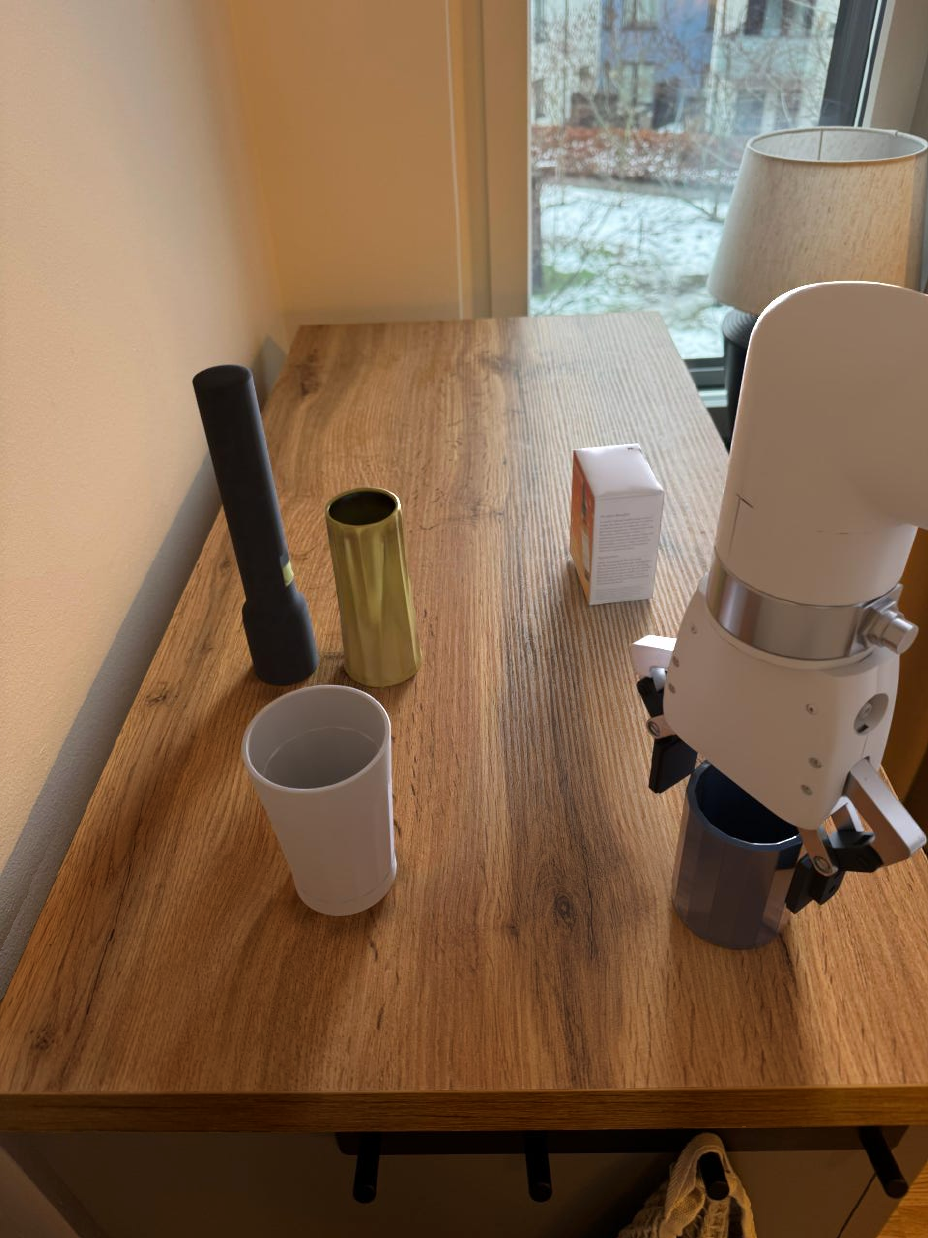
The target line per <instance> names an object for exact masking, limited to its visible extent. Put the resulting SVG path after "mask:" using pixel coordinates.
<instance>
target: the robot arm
mask: <svg viewBox="0 0 928 1238" xmlns="http://www.w3.org/2000/svg"><path fill="white" fill-rule="evenodd" d="M734 419H735V420H734V426H733V431H732V437H731V442H730V443H731V444H730V449H729V454H728V459H727V460H728V462H727V465H726V472H725V478H724V483H723V484H724V485H723V490H722V496H721V503H720V508H719V513H718V517H717V524H716V530H715V531H716V532H715V537H714V541H713V548H712V553H711V559H710V565H709V570H708V571H706V572H705V574H704V575H703V576H701V578H700V580H699V581H698V583H697V585H696V587H695V589H694V591H693V593H692V595H691V598H690V599H689V602H688V604H687V606H686V609H685V611H684V613H683V615H682V619H681V621H680V624H679V627H678V630H677V632H676V636H675V638H672V637H671V638H669V637H663V636H657V635H650V634H648V635H645V636H643V637H642V638H639V639H638V640H636V641H634V642H632V643H631V644H630V645H629V653H630V657H631V660H632V663H633V669H634V671H635V674H636V676H638V678H639V680H638V681H637V682H636V689H637V692H638V694H639V697H640V698H641V700H642V702H643V704H644V706H645V709H646V711H647V713H648V715H649V717H650V718H648V719H647V720H646V721H645V726H646V730H647V732H648V733H649V735H650V736H651V737H653V738H654V741H653V747H652V751H651V759H650V763H651V764H650V771H649V778H648V785H647V787H648V789H649V790H650V791H651V792H653V793H654V794H659V795H661V794H663V793H665V792H666V791H667V790H669V789H671V788H672V787H674V786H675V785H677V784H678V783H680V782H681V781H682V780H685V779H686V778H687V777H690V776H691V773H692V771H693V770H694V769H696V765H697V760H698V754H699V755H700V756H701V757H702V758H704V760H705V759H706V760H707V761H709V762H710V763H711V764H712V765H714V766H715V767H716V768H717V769H719V770H720V771H721V772H722V773H723V774H725V775H726V776H727V777H728V778H730V779H731V780H732V781H734V782H735V783H736V784H737V785H739V786H740V787H741V788H742V789H744V790H745V791H746V792H747V793H749V794H750V795H751V796H753V797H754V798H755V799H756V800H758V801H759V802H760V803H762V804H763V805H764V806H765V807H767V808H768V809H769V810H771V811H772V812H773V813H775V814H776V815H777V816H779V817H780V818H782V819H783V820H785V821H787V822H788V823H790V824H792V825H795V826H797V828H798V831H799V833H800V836H801V838H802V840H803V843H804V845H805V848H806V850H807V852H808V853H806V854H805V855H804V856H802V857H801V858H800V859H799V860H798V862H797V864H796V867H795V870H794V873H793V876H792V879H791V882H790V885H789V889H788V892H787V895H786V898H785V901H784V903H786V908H787V909H788V910H790V911H791V913H792V914H793V915H796V914H798V913H799V912H800V911H802V910H803V909H804V908H805V907H807V906H808V905H809V904H810V903H811V902H813V901H814V902H815V903H817V904H818V905H819V906H823V905H825V904H826V903H827V902H828V901H830V900H831V899H832V898H833V897H834V895H836V894H837V892H838V891H839V889H840V887H841V886H842V883H843V880H844V877H845V875H846V873H847V872H850V873H851V872H852V873H863V874H864V873H865V874H871V873H872V874H874V873H875V872H876V871H877V870H878V869H881V868H883V867H889V866H892V865H895V864H898V863H900V862H903V861H906V860H908V859H910V858H911V857H912V856H914V855H915V854H916V853H917V852H918V851H919V850H920V849H922V848H923V847H924V846H926V844H927V842H928V838H927V835H926V834H925V832H924V831H923V830H922V828H921V827H920V826H919V824H918V823H917V822H916V820H914V818H913V817H912V815H911V814H910V813H909V811H908V810H907V809H906V808H905V806H904V805H903V804H902V802H901V801H900V800H899V799H898V797H897V796H896V795H895V794H894V792H893V791H892V789H891V788H890V787H889V786H888V784H887V783H886V782H885V781H884V779H883V778H882V776H880V774H879V770H880V767H881V764H882V761H883V758H884V754H885V750H886V746H887V743H888V739H889V735H890V731H891V727H892V721H893V717H894V712H895V707H896V700H897V695H898V687H899V677H900V676H899V675H900V656H901V655H902V654H904V653H906V651H907V650H909V648H911V646H912V645H913V643H914V642H915V640H916V638H917V636H918V634H919V629H920V628H919V626H918V625H916V624H915V623H913V622H911V621H909V620H908V619H906V618H905V615H904V613H903V612H900V611H899V605H898V604H899V600H900V597H901V594H902V592H903V589H904V584H902V583H901V582H900V581H901V579H902V577H903V573H904V571H905V568H906V565H907V562H908V559H909V556H910V553H911V550H912V547H913V544H914V541H915V538H916V536H917V532H918V530H919V528H920V529H923V530H925V531H928V294H926V293H923V292H920V291H918V290H914V289H910V288H907V287H903V286H899V285H894V284H888V283H883V282H882V283H880V282H873V281H860V280H855V281H854V280H843V281H827V282H820V283H813V284H809V285H804V286H800V287H797V288H795V289H792V290H790V291H788V292H786V293H784V294H782V295H780V296H779V297H777V298H776V299H775V300H773V301H772V302H771V303H770V304H769V305H768V306H767V307H766V308H765V309H764V310H763V312H762V313H761V314H760V315H759V317H758V319H757V321H756V322H755V325H754V327H753V329H752V332H751V334H750V339H749V343H748V347H747V352H746V357H745V362H744V368H743V374H742V379H741V386H740V391H739V397H738V403H737V408H736V415H735V418H734ZM858 813H859V814H858ZM859 815H860V816H861V817H862V818H863V819H864V822H865V823H866V824H867V825H868V826H869V828H870V829H871V830H872V831H866V830H865V828H864V825H863V823H862V821H861V819H860V818H861V817H860V816H859ZM830 817H831V819H832V822H833V824H834V828H835V830H834V831H832V832H831V833H830V834H828V832H827V830H826V828H825V824H824V822H825V821H826V820H827V819H829V818H830Z"/></svg>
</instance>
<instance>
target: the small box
mask: <svg viewBox="0 0 928 1238" xmlns="http://www.w3.org/2000/svg"><path fill="white" fill-rule="evenodd" d="M571 474H572V476H571V477H572V478H571V496H570V497H571V501H570V520H569V521H570V524H569V525H570V527H569V551H568V552H569V554H570V556H571V560H572V561H573V563H574V566H575V569H576V572H577V575H578V577H579V581H580V584H581V587H582V590H583V592H584V595H585V598H586V601H587V604H588V605H589V606H597V605H604V604H614V603H623V602H632V601H633V602H634V601H643V600H651V599H653V597H654V592H655V591H654V590H655V582H656V572H657V564H658V556H659V549H660V548H659V547H660V538H661V530H662V521H663V513H664V506H665V505H664V504H665V503H664V502H665V496H666V495H665V494H666V492H665V491H664V489H663V487H662V486H661V484H660V482H659V481H658V479H657V478H656V476H655V474H654V472H653V470H652V468H651V466H650V465H649V462H648V461H647V459H646V457H645V454H644V453H643V451H642V448H641V445H640V444H639V443H627V444H617V445H616V444H615V445H607V446H605V445H604V446H596V447H585V448H576V449H573V451H572V473H571Z"/></svg>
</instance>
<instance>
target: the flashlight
mask: <svg viewBox="0 0 928 1238" xmlns="http://www.w3.org/2000/svg"><path fill="white" fill-rule="evenodd" d="M253 376H254V375H253V372H252V371H251V369H250V368H248V367H246V366H243V365H239V364H232V363H231V364H219V365H214V366H210V367H207V368H205V369H202V370H201V371H199V372H197V373H196V374H195V375H194V376H193V378H192V381H191V382H192V383H191V384H192V387H193V392H194V396H195V400H196V403H197V407H198V411H199V416H200V419H201V424H202V427H203V430H204V431H203V432H204V435H205V436H204V437H205V439H206V444H207V447H208V452H209V455H210V460H211V465H212V467H213V471H214V476H215V480H216V484H217V488H218V492H219V497H220V500H221V503H222V509H223V512H224V516H225V521H226V525H227V528H228V532H229V536H230V540H231V544H232V549H233V552H234V556H235V561H236V564H237V568H238V572H239V577H240V581H241V584H242V588H243V592H244V597H245V601H244V603H243V604H242V607H241V619H242V624H243V629H244V633H245V638H246V643H247V647H248V650H249V654H250V657H251V661H252V665H253V669H254V672H255V675H256V677H257V678H258V679H259V680H260V681H261V682H263V683H265V684H267V685H269V686H276V687H284V686H285V687H286V686H291V685H292V686H293V685H296V684H298V683H300V682H303V681H304V680H306V679H308V678H309V677H310V676H312V675H313V674H314V673H315V672H316V669H317V668H318V666H319V664H320V663H319V662H320V658H319V653H318V647H317V642H316V638H315V632H314V627H313V623H312V619H311V614H310V610H309V605H308V602H307V600H306V597H305V596H304V594H303V593H302V592H301V591H300V590H298V589H297V586H296V583H295V578H294V576H295V573H294V571H293V567H292V564H291V559H290V553H289V548H288V544H287V538H286V534H285V530H284V525H283V524H284V523H283V519H282V515H281V509H280V505H279V504H280V503H279V499H278V495H277V490H276V485H275V480H274V475H273V470H272V466H271V461H270V455H269V452H268V446H267V441H266V440H267V439H266V436H265V431H264V426H263V420H262V416H261V412H260V407H259V406H260V405H259V402H258V396H257V392H256V386H255V382H254V377H253Z"/></svg>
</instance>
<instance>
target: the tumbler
mask: <svg viewBox="0 0 928 1238" xmlns="http://www.w3.org/2000/svg"><path fill="white" fill-rule="evenodd" d="M675 850H676V851H675V857H674V862H673V870H672V876H671V889H670V890H671V899H672V903H673V904H672V905H673V906H674V909H675V911H676V913H677V915H678V917H679V918H680V919H681V921H682V923H684V924H685V926H686V927H688V929H689V930H690V931H692V933H694V934H695V935H697V936H698V937H699V938H701V939H702V940H704V941H705V942H708V943H710V944H712V945H714V946H717V947H721V948H724V949H729V950H740V951H741V950H752V949H757V948H760V947H763V946H765V945H767V944H769V943H771V942H773V941H774V940H776V939H777V938H778V937H779V936H780V935H781V933H782V932H783V931H784V929H785V928H786V925H787V924H788V922H789V920H790V917H791V913H792V912H791V911H790V910H788V909H787V908H786V903H784V901H785V898H786V895H787V892H788V889H789V885H790V882H791V879H792V876H793V873H794V870H795V867H796V864H797V862H798V860H799V859H800V858H801V857H802V856H804V855H805V854H806V853H808V852H807V850H806V848H805V845H804V843H803V840H802V838H801V836H800V833H799V831H798V828H797V826H795V825H792V824H790V823H788V822H787V821H785V820H783V819H782V818H780V817H779V816H777V815H776V814H775V813H773V812H772V811H771V810H769V809H768V808H767V807H765V806H764V805H763V804H762V803H760V802H759V801H758V800H756V799H755V798H754V797H753V796H751V795H750V794H749V793H747V792H746V791H745V790H744V789H742V788H741V787H740V786H739V785H737V784H736V783H735V782H734V781H732V780H731V779H730V778H728V777H727V776H726V775H725V774H723V773H722V772H721V771H720V770H719V769H717V768H716V767H715V766H714V765H712V764H711V763H710V762H709V761H707V760H706V759H705V758H704V760H703V761H702V762H701V763H700V764H698V766H697V767H695V769H694V770H693V771H692V773H691V774H690V775H689V779H688V782H687V785H686V788H685V793H684V799H683V806H682V813H681V818H680V825H679V831H678V838H677V843H676V849H675Z"/></svg>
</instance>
